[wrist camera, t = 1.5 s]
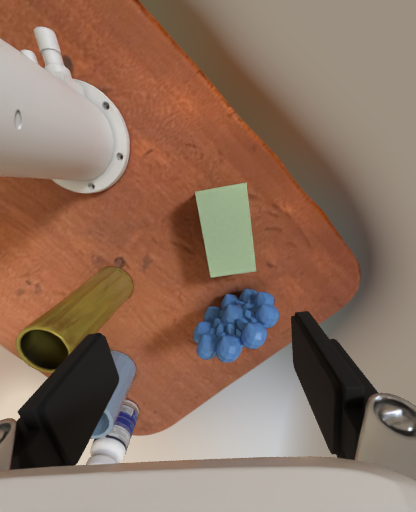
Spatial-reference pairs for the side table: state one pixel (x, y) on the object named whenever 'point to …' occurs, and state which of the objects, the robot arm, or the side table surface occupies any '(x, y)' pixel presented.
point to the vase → (73, 319)
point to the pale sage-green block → (226, 229)
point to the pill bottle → (115, 437)
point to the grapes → (235, 325)
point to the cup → (116, 394)
